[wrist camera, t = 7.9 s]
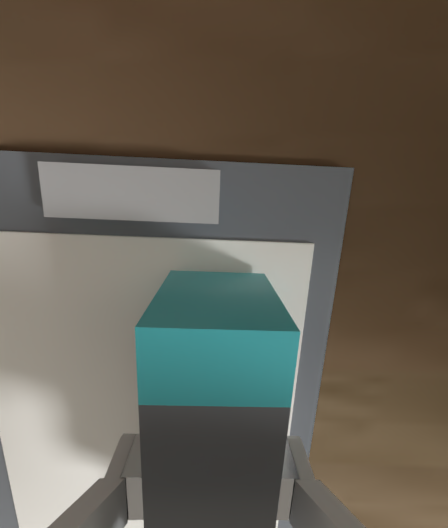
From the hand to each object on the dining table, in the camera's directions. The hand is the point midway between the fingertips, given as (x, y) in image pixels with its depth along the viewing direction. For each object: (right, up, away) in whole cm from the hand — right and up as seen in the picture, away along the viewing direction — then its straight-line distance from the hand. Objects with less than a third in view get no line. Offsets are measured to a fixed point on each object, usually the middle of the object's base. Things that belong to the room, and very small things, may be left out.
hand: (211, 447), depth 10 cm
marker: (0, 0, +2) cm, 2 cm away
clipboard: (-3, 0, +3) cm, 4 cm away
